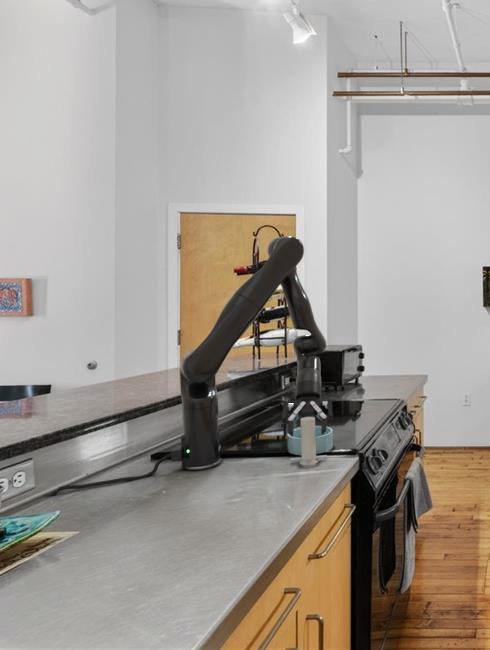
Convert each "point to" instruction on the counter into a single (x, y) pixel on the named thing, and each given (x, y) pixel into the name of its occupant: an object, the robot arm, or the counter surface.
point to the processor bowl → (322, 441)
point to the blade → (308, 443)
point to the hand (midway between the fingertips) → (307, 433)
